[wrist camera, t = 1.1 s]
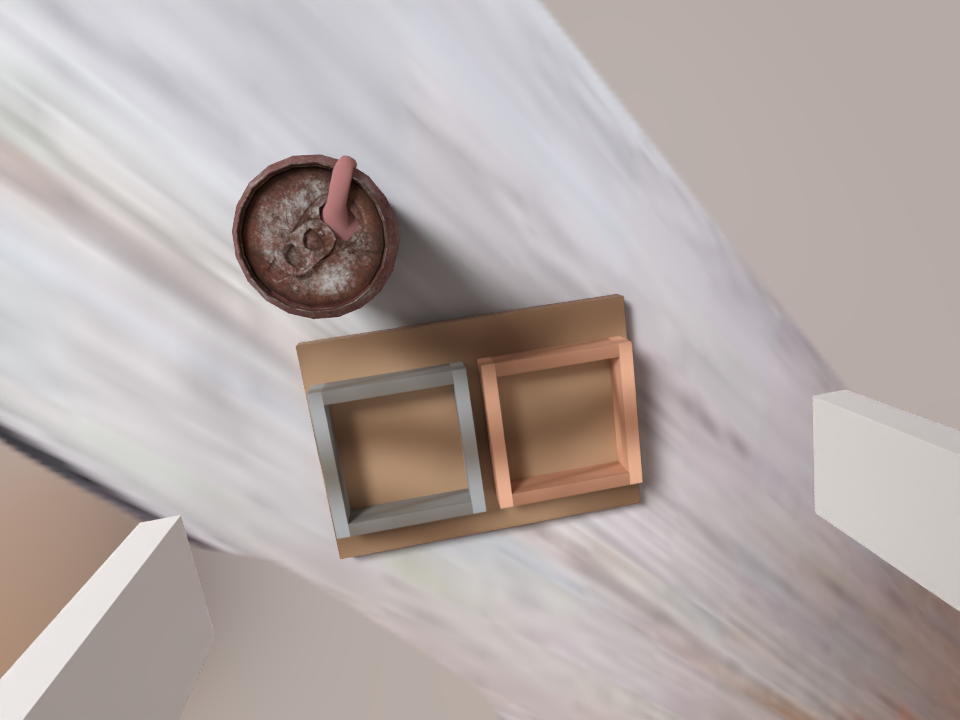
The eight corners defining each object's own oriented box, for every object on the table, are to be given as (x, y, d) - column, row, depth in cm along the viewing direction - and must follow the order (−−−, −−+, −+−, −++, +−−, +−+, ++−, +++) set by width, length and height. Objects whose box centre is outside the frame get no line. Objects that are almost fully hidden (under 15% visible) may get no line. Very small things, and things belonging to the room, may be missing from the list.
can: (410, 194, 35) (416, 171, 22) (385, 298, 36) (375, 339, 23) (306, 164, 34) (245, 120, 21) (283, 272, 35) (210, 299, 22)
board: (299, 342, 36) (289, 353, 33) (616, 294, 38) (635, 299, 35) (342, 549, 39) (337, 576, 36) (633, 494, 41) (652, 516, 38)
